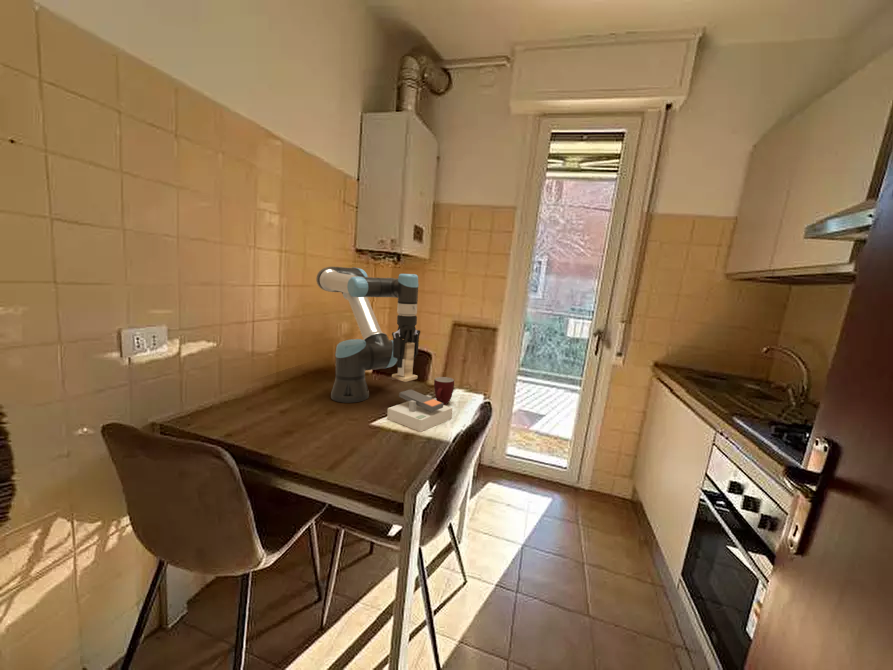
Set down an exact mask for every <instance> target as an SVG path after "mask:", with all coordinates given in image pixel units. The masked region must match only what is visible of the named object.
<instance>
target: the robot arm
mask: <svg viewBox="0 0 893 670" xmlns="http://www.w3.org/2000/svg"><path fill="white" fill-rule="evenodd" d="M316 284H317V286H318V287H319V289H321V290H322V291H326V292H330V293H341V294H342V297H343V298H344V300H347V301H348V303H349V306H350V308H351V311H352V313H353V317H354V318H355V321H356V324H357V326H358V327H357V328H358V329H359V331H360V334H361V337H362V339H360V338H355V339H353V338H352V339H347V340H343V341H340V342H339V343H337V345H336V348H335V354H334V356H335V380H334V383H333V386H332V389H331V392H330V398H331V400H333V401H334V402H338V403H344V404H345V403H349V404H350V403H359V402H362V401H366V400H368V399H369V398H370V397H369V396H370V391H369V389H368V388H369V387H368V384H367V380H366V371H371V370H374V371H375V370H380V369H387V368H388V369H389V368H392V367H394V366H395V365H396V366H397V373H398V375H400V376H404V364H405V359H403V356H404V350H405V343H406V342H407V341H408V342H413V343H415V346H414V359H413V365H414V363H415V361H414V360H415V358H417V356H418V355H419V344H420V343H419V342H420V335H421V330H418V329H416V326H417V324H418V316H417V314H418V299H419V276H418V275H417V274H415V273H399V275H398V277H397V278H396V277H395V278H394V277H372V276H371V277H370V276H369V275H368V274H367V272H366V271H365V270H364V269H362V268H359V267H353V266H352V267H342V266H326V267H324V268H322V269H320V270H319V271H318V272H317V275H316ZM369 298H395V299H397V309H396V310H397V312H396V313H397V314H398V315H397V316H396V324H397V326H398V327H397V330H396V331H395V332H392V333H391V337H392V339H391V340H390V339H389V337H388V334H386V333H384V332H383V331H382V329H381V327H380V324H379V321H378V319H377V317H376V315H375V312H374V309H373V308H372V305H371V303H370V302H371V301H370V300H369ZM412 374H413V371H412Z"/></svg>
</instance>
